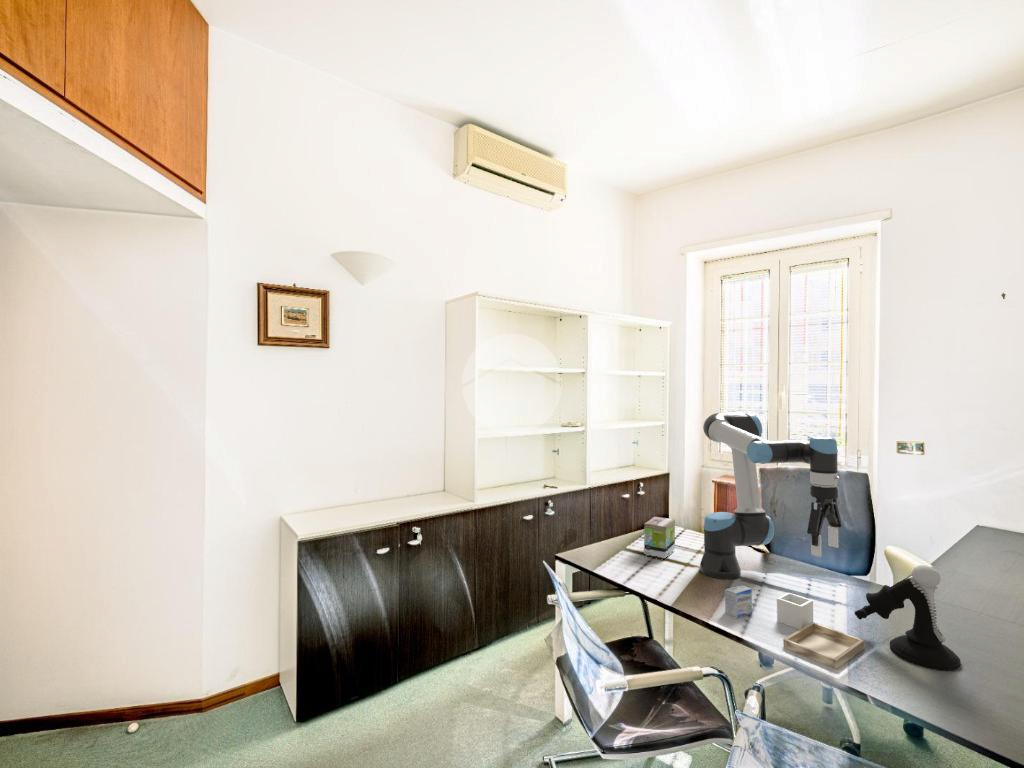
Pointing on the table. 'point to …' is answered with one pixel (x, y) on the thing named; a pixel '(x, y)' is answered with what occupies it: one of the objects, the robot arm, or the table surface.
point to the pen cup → (794, 610)
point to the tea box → (659, 537)
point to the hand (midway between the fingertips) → (825, 551)
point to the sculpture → (915, 620)
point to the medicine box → (738, 601)
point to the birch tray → (824, 644)
